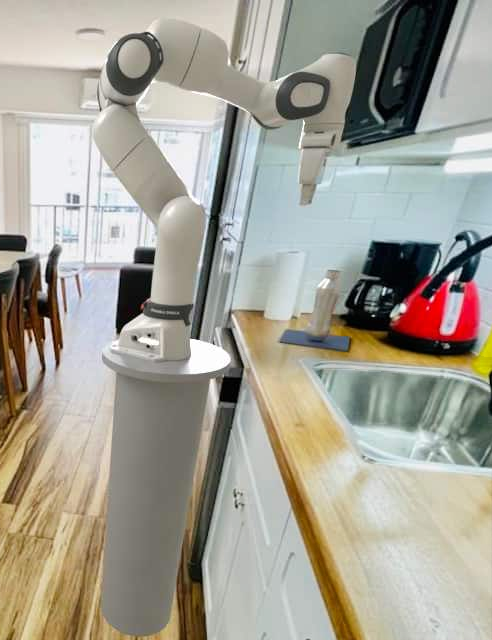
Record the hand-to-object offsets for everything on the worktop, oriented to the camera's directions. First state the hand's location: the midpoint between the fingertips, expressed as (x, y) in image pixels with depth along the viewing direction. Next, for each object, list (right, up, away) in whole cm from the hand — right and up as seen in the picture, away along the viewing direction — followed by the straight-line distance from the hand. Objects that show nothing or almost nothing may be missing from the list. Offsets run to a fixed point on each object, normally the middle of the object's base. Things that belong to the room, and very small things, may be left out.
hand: (305, 204), depth 122 cm
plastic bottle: (+16, -29, +24) cm, 41 cm away
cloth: (+16, -29, +25) cm, 41 cm away
